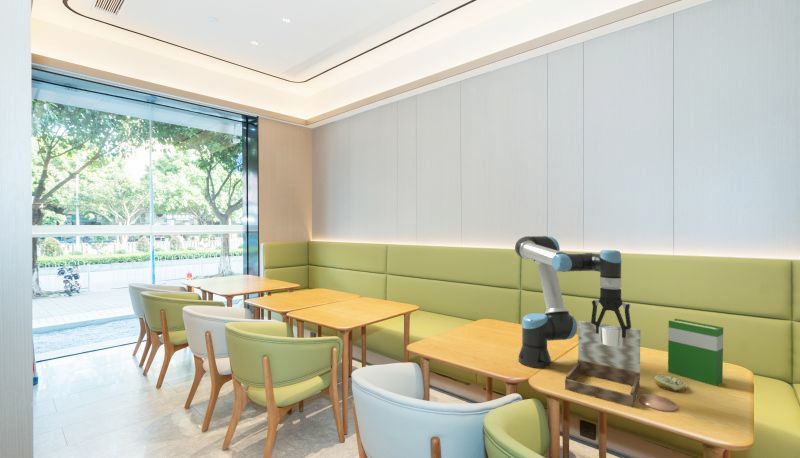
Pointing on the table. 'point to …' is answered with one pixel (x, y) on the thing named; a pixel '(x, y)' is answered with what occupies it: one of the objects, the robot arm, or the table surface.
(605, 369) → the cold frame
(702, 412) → the table surface
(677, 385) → the decorated donut
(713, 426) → the table surface
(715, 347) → the hardback book
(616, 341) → the shot glass
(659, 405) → the terracotta saucer
